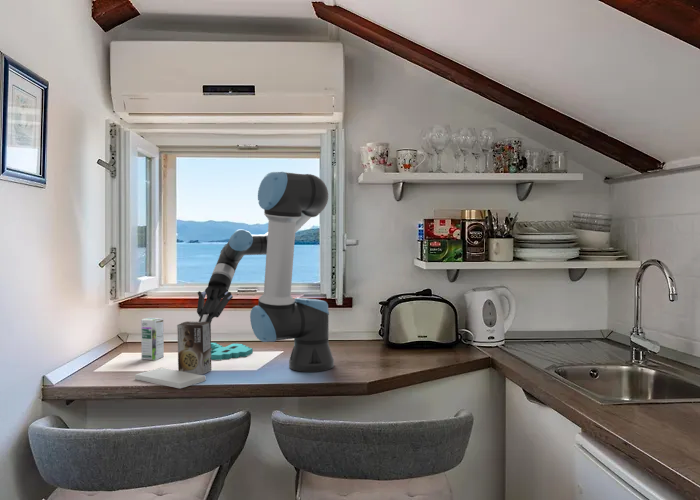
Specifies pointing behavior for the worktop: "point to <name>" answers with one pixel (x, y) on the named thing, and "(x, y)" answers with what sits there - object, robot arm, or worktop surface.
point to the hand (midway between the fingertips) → (200, 332)
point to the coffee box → (194, 347)
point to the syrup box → (152, 338)
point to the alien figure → (229, 351)
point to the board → (170, 377)
